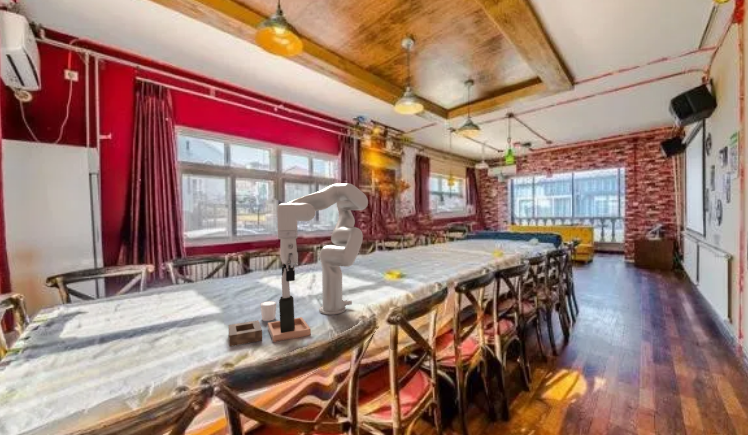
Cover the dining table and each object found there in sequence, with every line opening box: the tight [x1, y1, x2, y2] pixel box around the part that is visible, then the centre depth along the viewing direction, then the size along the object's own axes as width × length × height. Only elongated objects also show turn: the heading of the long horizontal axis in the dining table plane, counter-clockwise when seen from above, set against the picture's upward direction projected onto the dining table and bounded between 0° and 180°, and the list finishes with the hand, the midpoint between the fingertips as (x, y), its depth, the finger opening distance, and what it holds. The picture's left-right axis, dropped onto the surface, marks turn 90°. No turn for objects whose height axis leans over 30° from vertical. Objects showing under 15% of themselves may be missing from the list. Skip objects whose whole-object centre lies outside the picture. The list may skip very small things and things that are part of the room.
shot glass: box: [260, 300, 277, 322], centre depth 138 cm, size 7×7×7 cm
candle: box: [278, 268, 295, 333], centre depth 123 cm, size 5×5×25 cm
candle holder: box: [228, 319, 263, 347], centre depth 117 cm, size 11×11×4 cm
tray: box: [267, 316, 312, 343], centre depth 123 cm, size 14×14×2 cm
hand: (288, 278), depth 122 cm, fingers open, 8 cm apart
